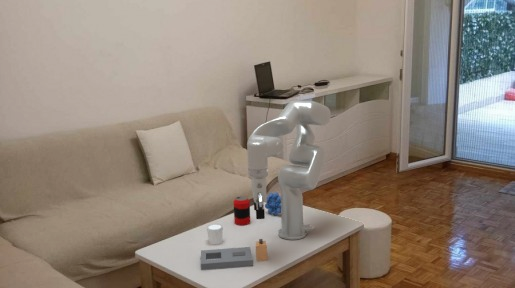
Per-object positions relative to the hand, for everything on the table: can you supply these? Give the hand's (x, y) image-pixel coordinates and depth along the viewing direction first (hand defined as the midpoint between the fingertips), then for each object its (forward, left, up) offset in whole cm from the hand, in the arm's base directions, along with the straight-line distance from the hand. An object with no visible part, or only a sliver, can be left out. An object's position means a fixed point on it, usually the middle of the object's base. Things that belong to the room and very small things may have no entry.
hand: (259, 214), depth 195 cm
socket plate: (+14, 0, -19) cm, 23 cm away
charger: (0, 0, -19) cm, 19 cm away
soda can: (+5, -39, -19) cm, 43 cm away
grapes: (-12, -46, -19) cm, 51 cm away
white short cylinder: (+18, -19, -19) cm, 32 cm away
